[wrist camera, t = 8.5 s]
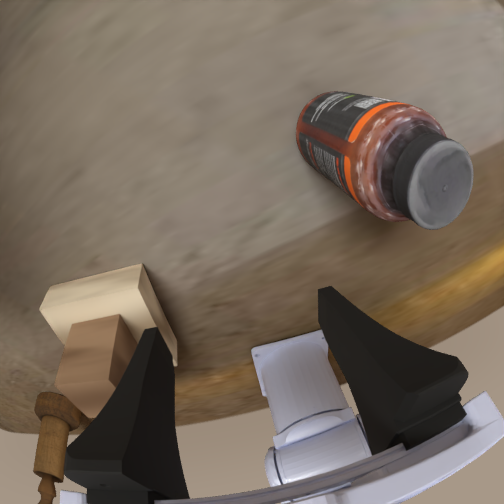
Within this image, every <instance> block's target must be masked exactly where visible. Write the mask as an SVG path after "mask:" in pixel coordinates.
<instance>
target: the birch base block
mask: <svg viewBox="0 0 504 504" xmlns="http://www.w3.org/2000/svg"><path fill="white" fill-rule="evenodd" d="M39 310H40V311H41V313H42V315H43V316H44V317H45V319H46V320H47V322H48V323H49V325H50V326H51V328H52V329H53V330H54V332H55V333H56V335H57V336H58V337H59V339H60V340H61V342H62V343H63V344H64V346H65V344H66V341H67V338H68V335H69V332H70V328H71V325H72V324H74V323H78V322H83V321H88V320H93V319H98V318H102V317H107V316H112V315H116V314H120V315H121V317H122V318H123V320H124V322H125V324H126V325H127V327H128V328H129V330H130V332H131V333H132V335H133V337H134V338H135V340H136V341H137V343H139V340H140V338H141V336H142V334H143V331H144V330H145V329H148V328H153V327H158V329H159V331H160V333H161V335H162V337H163V338H164V340H165V342H166V344H167V346H168V348H169V350H170V352H171V353H172V355H173V364H174V366H178V365H177V340H176V338H175V336H174V334H173V332H172V329H171V327H170V325H169V323H168V321H167V319H166V317H165V315H164V312H163V310H162V308H161V306H160V304H159V301H158V299H157V297H156V295H155V292H154V290H153V288H152V285H151V283H150V281H149V278H148V276H147V274H146V271H145V269H144V266H143V264H138V265H133V266H129V267H125V268H121V269H117V270H113V271H109V272H105V273H101V274H97V275H93V276H88V277H84V278H80V279H76V280H72V281H68V282H64V283H60V284H57V285H53V286H50V287H49V289H48V292H47V294H46V296H45V298H44V300H43V302H42V304H41V306H40V308H39Z"/></svg>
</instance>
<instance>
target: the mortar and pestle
mask: <svg viewBox="0 0 504 504" xmlns="http://www.w3.org/2000/svg"><path fill="white" fill-rule="evenodd" d="M34 410H35V413H36V415H37V416H38V418H39V419H40V421H41V427H40V433H39V438H38V444H37V449H36V456H35V463H34V470H33V472H34V473H35V474H36V475H38V476H39V477H42V480H41V482H40V485H39V487H38V492H40V494H41V500H40V502H39V503H38V504H52V501H53V498H54V497H56V490H55V485H54V482H58V483H62V482H63V479H64V462H65V453H66V447H67V441H68V435H69V431H73V430H74V429H77V428H78V427H79V425H80V419H81V413H82V411H80V410H79V409H78V408H77V407H76V406H75V405H74V404H73V403H72V402H71V401H70V400H69V399H68V398H67V397H65V396H63V395H60V394H56V393H51V392H42V393H40V394H39V395H38V396H37V400H36V404H35V409H34Z"/></svg>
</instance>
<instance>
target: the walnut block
mask: <svg viewBox="0 0 504 504" xmlns="http://www.w3.org/2000/svg"><path fill="white" fill-rule="evenodd" d="M137 345H138V343H137V341H136V340H135V338H134V337H133V335H132V333H131V332H130V330H129V328H128V327H127V325H126V324H125V322H124V320H123V318H122V317H121V315H120V314H116V315H112V316H107V317H102V318H98V319H93V320H88V321H83V322H78V323H74V324H72V325H71V328H70V332H69V335H68V338H67V341H66V344H65V348H64V351H63V354H62V358H61V362H60V365H59V369H58V373H57V376H56V380H55V384H54V385H55V386H56V387H57V388H58V389H59V390H60V391H61V392H62V393H63V394H64V395H65V396H66V397H67V398H68V399H69V400H70V401H71V402H72V403H73V404H74V405H75V406H76V407H77V408H78V409H79V410H80V411H82V412H83V413H84V414H85V415H86V416H87V417H88V418H96V416H97V415H98V414H99V413H100V411H101V410H102V409H103V407H104V406H105V404H106V403H107V402H108V400H109V398H110V397H111V395H112V394H113V392H114V391H115V389H116V387H117V385H118V384H119V382H120V380H121V378H122V376H123V374H124V372H125V370H126V368H127V366H128V364H129V362H130V360H131V358H132V356H133V354H134V352H135V349H136V347H137Z"/></svg>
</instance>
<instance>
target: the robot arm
mask: <svg viewBox="0 0 504 504" xmlns="http://www.w3.org/2000/svg"><path fill="white" fill-rule="evenodd" d="M318 321H319V324H320V327H321V329H322V330H318V331H315V332H311V333H308V334H304V335H300V336H297V337H293V338H289V339H285V340H282V341H278V342H274V343H270V344H266V345H262V346H258V347H254V348H253V349H252V350H251V353H252V357H253V361H254V364H255V368H256V372H257V376H258V380H259V383H260V387H261V391H262V395H263V396H267V399H268V403H269V407H270V411H271V414H272V418H273V422H274V425H275V429H276V433H277V435H276V436H274V437H273V441H274V445H275V446H273V447H270V448H269V449H268V452H267V454H266V456H265V469H266V474H267V477H268V480H269V483H270V486H271V487H269V488H264V489H259V490H253V491H248V492H242V493H236V494H229V495H222V496H215V497H205V498H195V499H190V497H189V494H188V490H187V487H186V483H185V479H184V474H183V470H182V465H181V461H180V456H179V450H178V443H177V436H176V429H175V374H174V364H173V355H172V353H171V352H170V350H169V348H168V346H167V344H166V342H165V340H164V338H163V337H162V335H161V333H160V331H159V329H158V327H153V328H148V329H145V330H144V331H143V334H142V336H141V338H140V340H139V343H138V345H137V347H136V349H135V352H134V354H133V356H132V358H131V360H130V362H129V364H128V366H127V368H126V370H125V372H124V374H123V376H122V378H121V380H120V382H119V384H118V385H117V387H116V389H115V391H114V392H113V394H112V395H111V397H110V398H109V400H108V402H107V403H106V404H105V406H104V407H103V409H102V410H101V411H100V413H99V414H98V415H97V416H96V418H95V419H94V420H93V421H92V423H91V424H90V425H89V426H88V427H87V428H86V429H85V430H84V431H83V432H82V433H81V434H80V435H79V436H78V437H77V438H76V439H75V440H74V441H73V442H72V443H71V444H70V445H69V446H68V447H66V453H65V462H64V475H65V476H66V477H67V478H69V479H70V480H72V481H74V482H75V483H77V484H79V485H81V486H83V487H85V488H87V494H84V493H80V492H74V491H66V490H61V491H60V504H275V503H281V504H399V503H401V502H403V501H405V500H407V499H409V498H411V497H413V496H415V495H417V494H419V493H421V492H423V491H425V490H427V489H428V488H430V487H432V486H433V485H435V484H437V483H439V482H440V481H442V480H444V479H445V478H447V477H449V476H450V475H452V474H454V473H455V472H457V471H458V470H460V469H461V468H463V467H464V466H465V465H467V464H469V463H470V462H472V461H473V460H475V459H476V458H477V457H479V456H480V455H482V454H483V453H484V452H486V451H487V450H488V449H489V448H491V447H492V446H493V445H494V444H495V443H497V442H498V441H499V440H500V439H501V438H502V437H504V419H503V417H502V415H501V414H500V412H499V411H498V409H497V408H496V406H495V404H494V403H493V401H492V400H491V398H490V397H489V395H488V394H487V392H486V391H483V392H482V393H481V394H479V395H478V396H476V397H474V398H473V399H471V400H470V401H469V402H467V403H466V404H465V405H463V406H462V405H461V403H460V401H461V397H460V395H459V394H458V392H459V391H460V390H461V388H462V387H463V385H464V383H465V382H466V380H467V378H468V372H467V370H466V369H465V367H464V365H463V364H462V363H461V361H460V360H459V359H458V358H457V357H455V356H451V355H448V354H444V353H441V352H437V351H434V350H431V349H429V348H426V347H423V346H421V345H418V344H416V343H414V342H412V341H409V340H407V339H405V338H403V337H401V336H399V335H397V334H395V333H394V332H392V331H390V330H388V329H387V328H385V327H384V326H382V325H380V324H379V323H378V322H376V321H375V320H373V319H372V318H370V317H369V316H368V315H366V314H365V313H364V312H362V311H361V310H360V309H358V308H357V307H356V306H355V305H353V304H352V303H351V302H350V301H348V300H347V299H346V298H345V297H344V296H342V295H341V294H340V293H339V292H338V291H337V290H335V289H334V288H333V287H332V286H329V287H325V288H322V289H318ZM328 346H329V348H330V349H331V351H332V353H333V355H334V357H335V359H336V361H337V363H338V365H339V366H340V368H341V370H342V372H343V374H344V376H345V378H346V380H347V382H348V384H349V387H350V389H351V392H352V395H353V397H354V400H355V402H356V406H357V408H358V411H359V414H357V415H356V417H357V419H356V417H355V415H354V412H353V410H352V408H351V407H349V406H348V404H347V401H346V399H345V397H344V394H343V392H342V390H341V388H340V385H339V383H338V381H337V379H336V376H335V374H334V372H333V370H332V367H331V365H330V363H329V361H328Z"/></svg>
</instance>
